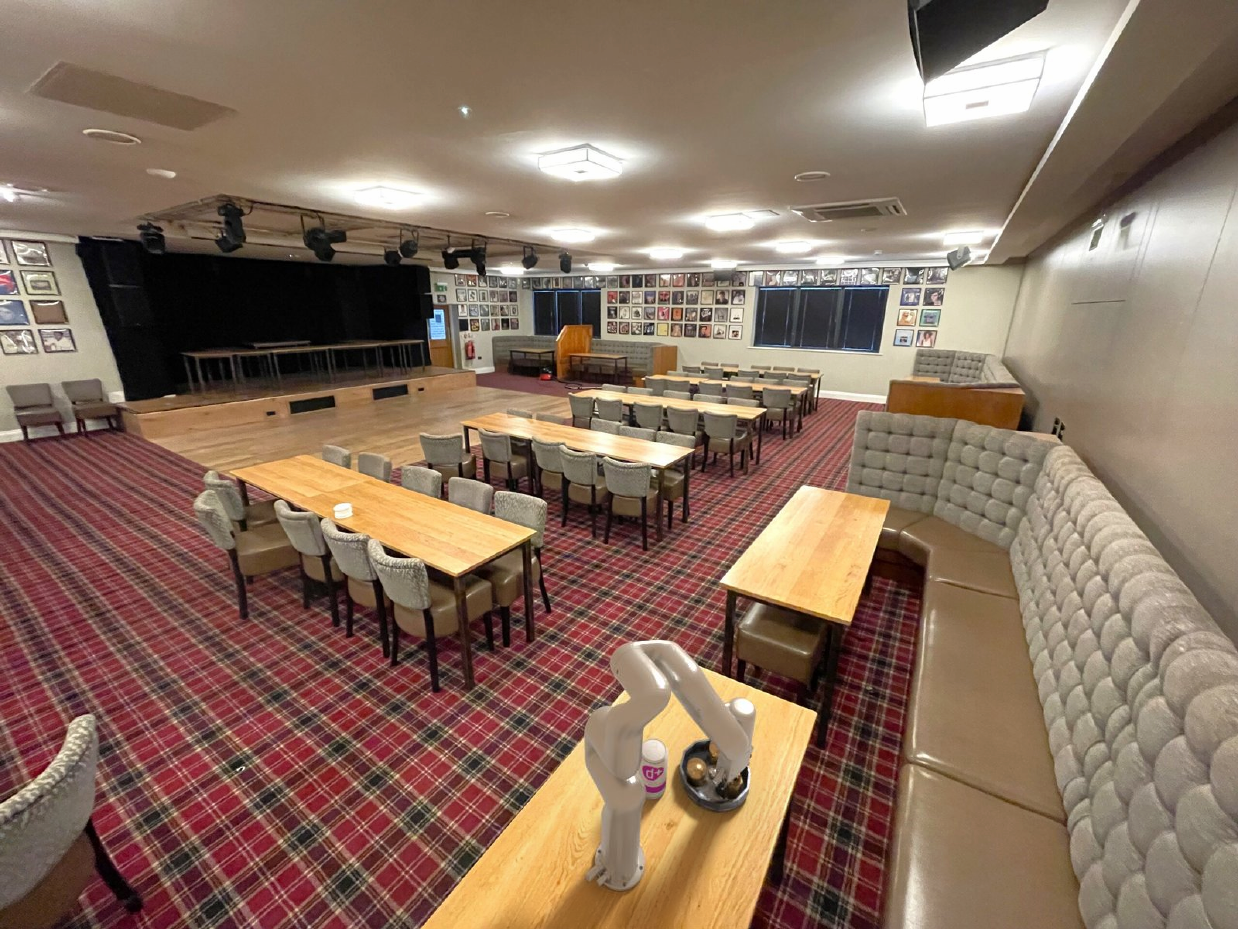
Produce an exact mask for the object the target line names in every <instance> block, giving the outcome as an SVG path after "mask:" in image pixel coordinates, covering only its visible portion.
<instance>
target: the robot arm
mask: <svg viewBox="0 0 1238 929" xmlns="http://www.w3.org/2000/svg"><path fill="white" fill-rule="evenodd" d="M609 666H610V670H611V672H612V674H613V676H614V677H615V679H617V682H618V683H619V684H620V686H622V688H623V689H624V690H625V692H626V693H627V695H628V696H629V699H628V700H626V701H625V702H622V703H619V704H616V705H615V706H611V705H605V706H604V705H603V706H601V707H599V708H596V709H595V710H594V711H593V713H591V714H590V716H589V718H588V719H587V721H586V724H585V727H584V734H583V735H584V736H583V737H584V763H585V767H586V769H587V771H588V774H589V776H590V777H591V779H592V781H593V783H594V784H595V787H596V788H597V790H598V792H599V795H600V796H601V797H602V800H603V802H604V804H603V806H602V809H601V815H600V816H601V819H600V820H601V822H600V823H601V826H600V830H601V833H600V834H601V835H600V836H601V839H600V841H601V842H600V844H599V845H598V846H597V849H596V852H595V856H594V866H593V867H592V868H590V869H589V870H588V871H587V872H585V878H586V880H587V881H588V882H589V883H591V882H593V880H594V879H596V876H598V878H597V880H595V881H596V885H597V886H598V887H601V886H602V885H604V886H605V887H607V888H609V889H611V890H613V891H618V892H623V891H627V890H630V889H632V888H633V887H635V886H636V885H637V884H638V883H640V881H641V879H642V878H643V876H644V872H645V867H646V857H645V852H644V850H643V847H642V846H641V829H642V828H641V826H642V811H643V808H644V804H645V802H646V799H647V798H646V788H645V785H644V783H643V781H642V779H641V777H640V775H639V774H638V770H639V768H640V764H641V760H642V745H643V743H644V742H643V739H644V729H645V727H646V726H647V725H649V723H651V722H652V721H653V720H654V719H655V718H656V717H658V715H659V714H660V713H662V712H663V711H664V710H665V709H666V708H667V706H668V704H669V703H670V700H671V696H672V694H673V695H674V697H675V698H676V699H677V701H678V702H679V703H680V705H681V706H682V707H683V709H684V710H685V711H686V713H687V714H688V715H689V717H690V718H691V719H692V721H693V722H694V723H695V724H696V725H697V726H698V727H699V729H700V730H701V731H702V732H703V734H704V735H705V736H706V737H707V739H709V740H711V742H712V743H713V744H714V745H715V746H716V747H717V749H718V750H719V751H720V752H719V755H718V760H717V765H716V773H717V775H716V777H715V778H714V780H713V783H714V785H715V786H716V789H715V791H716V793H717V794H718V795H719V796H721V797H722V798H723V799H725V798H726V792H727V788H726V786H727V784H728V782H731V781H732V780H733V779H734V778H735V777H736V776H737V775H738V774H739V773H740V774H741V775H742V776H743V777H744V778H746V777H747V771H748V767H749V766H750V764H751V762H750V761H751V760H750V759H751V758H752V757H753V755H752V753H753V751H754V748H755V747H754V746H753V745H752V743H753V736H754V731H755V724H756V717H757V711H756V707H755V705H754V704H753V702H751V701H750V700H749V699H747V698H745V697H741V696H737V697H734V698H732V699H731V700H729V701H727V702H724V701H723V700H722V698H721V696H720V695H719V694H718V693H717V692H716V689H714V687H713V685H712V684H711V682H710V681H709V679H708V677H707V676H706V674H705V673H704V671H703V669H702V668H701V667H700V665H699V664H698V663H697V661H695V659H693V658H692V657H691V656H690V655H689V654H688V653H687V652H686V651H685V650H684V649H683V648H682V647H681V646H680V645H679V644H678V643H677V642H675V641H672V640H667V639H664V640H663V639H655V640H638V641H629V642H626V643H624V644H622V645H619V646H618V647H617V648H616V649H615V650H614V651H613V653H612V654H611V656H610V661H609ZM747 766H748V767H747ZM722 778H723V779H725V782H724V784H723V783H722V782H721V779H722Z"/></svg>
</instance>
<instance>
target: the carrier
mask: <svg viewBox="0 0 1238 929" xmlns="http://www.w3.org/2000/svg"><path fill="white" fill-rule="evenodd" d="M719 752H720V751H719V750H718V749H717V747H716V746H715V745H714V744H713V743H712V742H711V740H709V738H705V739H699V740H694V741H693V742H692V743H691V744H689V745H688V746H687V747H686V748H685V749H684V750H683V751H682V755H681V760H680V763H679V769H678V770H679V771H678V774H679V778H680V784H681V786H682V788H683V790H684V792H685V794H686V795H687V796H688V798H689V799H691V801H692V802H694V804H696V805H697V806H699V807H701V808H702V809H704V810H706V811H710V812H714V813H728V812H731V811H734V810H736V809H738V808H739V807H741V805H742V804H744V802H745V801H746V799H747V797H748V795H749V792H750V785H751V776H752V775H751V774H752V771H751V769H750V767H749V766H747V767H748V771H747V777H746V778H744V777H743V776H742V775H741V776H742V789H741V794H740V795H739V796H738V798H737V799H727V798H725V799H723V798H722V797H721V796H719V795H718V794H717V793H716V791H715V789H716V786H715V785H714V783H713V780H714V778H715V777H716V775H717V773H716V765H717V760H718V755H719ZM731 782H734V779H733V780H732V781H731Z"/></svg>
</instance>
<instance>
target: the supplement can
mask: <svg viewBox="0 0 1238 929" xmlns="http://www.w3.org/2000/svg"><path fill="white" fill-rule="evenodd" d="M668 763H669V750H668V748H667V746H666V745H665V743H664V742H663V740H661V739H658V738H653V737H652V738H648V739H646V740H645V741H644V742H643V745H642V760H641V764H640V768H639V770H638V774H639V775H640V777H641V779H642V781H643V783H644V785H645V788H646V799H649V800H657V799H659V798H660V797H662V796H663V795H664V794H665V792H666V788H667V780H668V779H667V778H668V766H669V765H668Z"/></svg>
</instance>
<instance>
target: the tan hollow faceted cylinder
mask: <svg viewBox="0 0 1238 929" xmlns="http://www.w3.org/2000/svg"><path fill="white" fill-rule="evenodd" d="M721 782H722V783H723V784H724V782H725V779H723V778H722V779H721ZM726 788H727V792H726V798H727V799H737V798H738V796H739V795H740V794H741V789H742V776H741V774H740V773H739V774H738V775H737V776H736V777H735V778H734V782H728V784H727V786H726Z"/></svg>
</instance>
